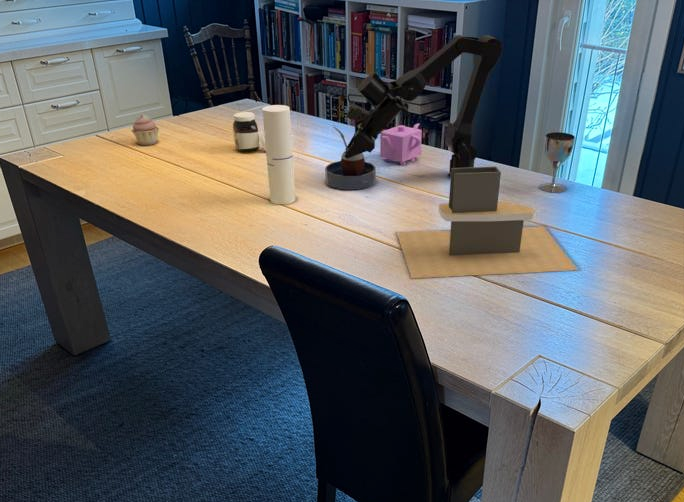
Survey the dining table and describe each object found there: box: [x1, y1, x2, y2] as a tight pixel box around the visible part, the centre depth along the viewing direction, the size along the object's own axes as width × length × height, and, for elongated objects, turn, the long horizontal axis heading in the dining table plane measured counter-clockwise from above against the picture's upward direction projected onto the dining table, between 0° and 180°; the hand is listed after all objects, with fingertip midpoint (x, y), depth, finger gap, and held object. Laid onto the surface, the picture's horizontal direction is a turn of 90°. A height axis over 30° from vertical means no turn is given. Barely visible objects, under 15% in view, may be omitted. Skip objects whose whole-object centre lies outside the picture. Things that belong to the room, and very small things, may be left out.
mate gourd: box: [333, 126, 366, 176], centre depth 198 cm, size 8×8×15 cm
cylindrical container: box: [261, 104, 297, 205], centre depth 184 cm, size 7×7×25 cm
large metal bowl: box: [324, 160, 377, 191], centre depth 202 cm, size 15×15×4 cm
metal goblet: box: [539, 131, 576, 193], centre depth 193 cm, size 8×8×15 cm
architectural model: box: [396, 166, 579, 279], centre depth 157 cm, size 38×25×20 cm, turn 96°
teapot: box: [379, 123, 423, 166], centre depth 217 cm, size 15×13×11 cm
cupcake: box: [131, 113, 160, 146], centre depth 234 cm, size 9×9×10 cm
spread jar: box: [232, 111, 266, 154], centre depth 227 cm, size 12×11×12 cm
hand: (345, 154), depth 199 cm, fingers closed on mate gourd, 6 cm apart
